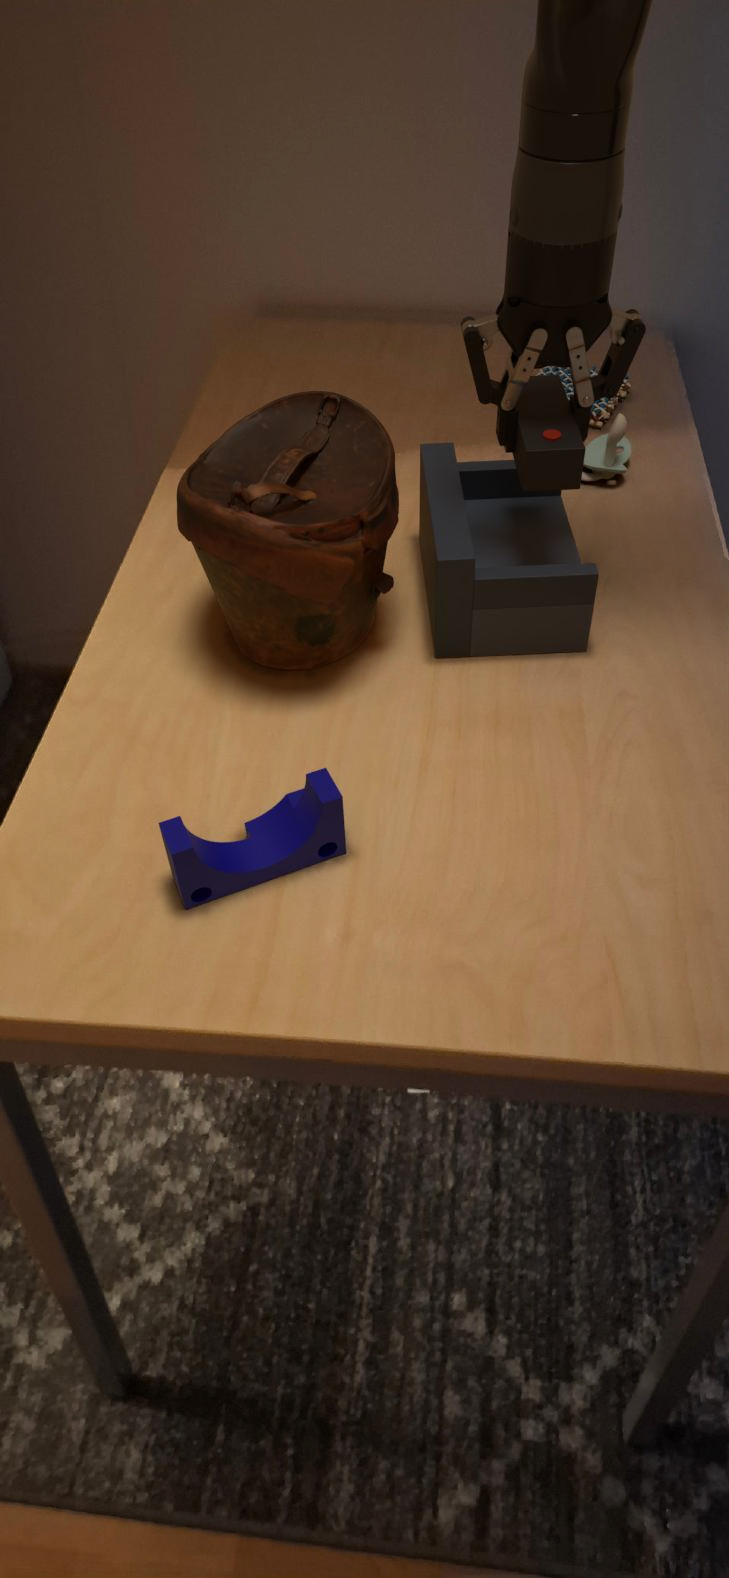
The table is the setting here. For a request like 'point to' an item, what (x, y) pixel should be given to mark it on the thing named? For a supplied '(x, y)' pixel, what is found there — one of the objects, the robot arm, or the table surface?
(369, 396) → the table surface
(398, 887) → the table surface
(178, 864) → the blue bracket
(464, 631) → the sofa
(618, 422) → the pacifier
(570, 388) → the woven mat
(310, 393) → the case
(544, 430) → the remote
